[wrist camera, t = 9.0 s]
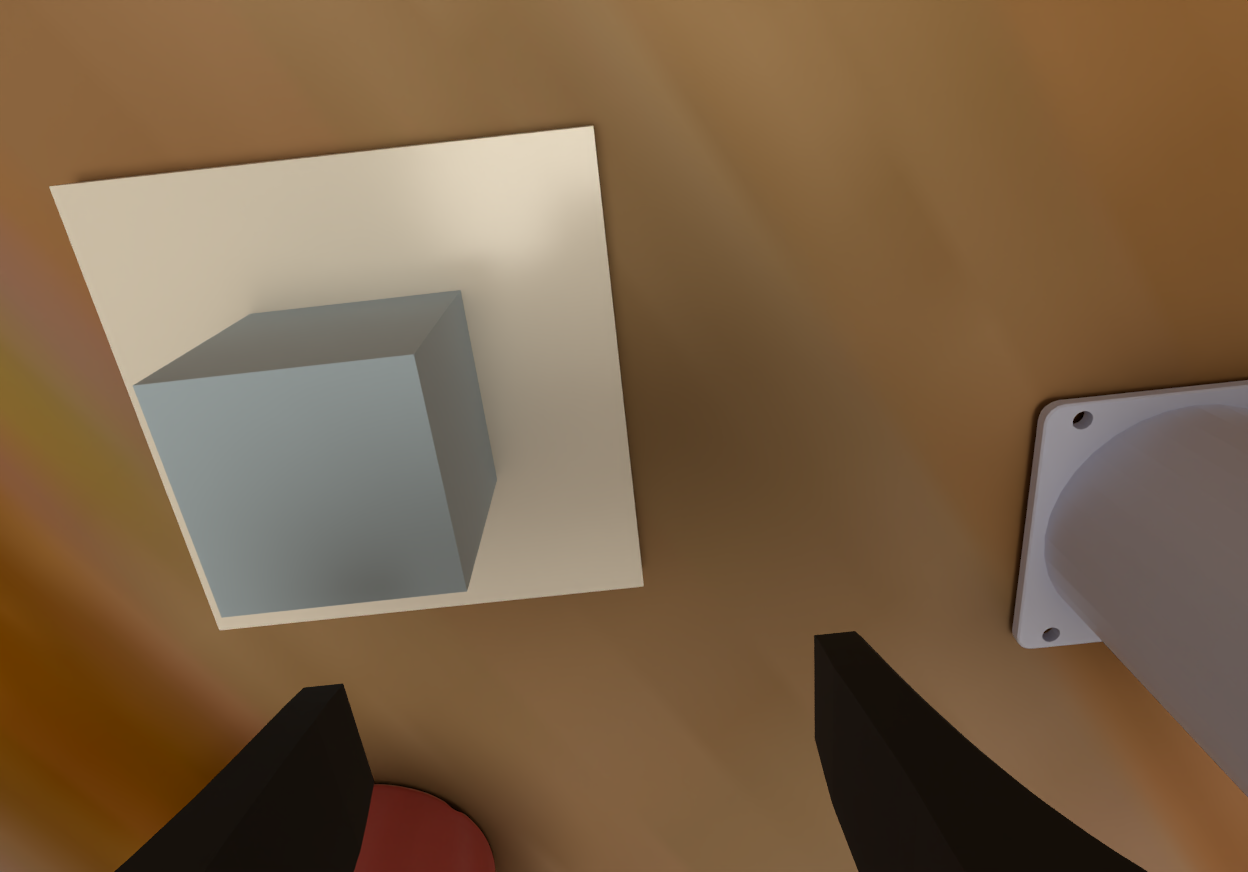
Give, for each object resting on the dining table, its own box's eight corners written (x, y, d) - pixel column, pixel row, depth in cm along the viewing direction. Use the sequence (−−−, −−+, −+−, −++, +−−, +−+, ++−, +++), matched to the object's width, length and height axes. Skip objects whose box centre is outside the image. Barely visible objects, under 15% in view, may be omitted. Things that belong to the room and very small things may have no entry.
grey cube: (460, 290, 18) (413, 354, 14) (497, 479, 20) (467, 591, 16) (250, 314, 18) (132, 385, 14) (307, 500, 20) (221, 617, 16)
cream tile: (593, 124, 18) (593, 125, 17) (641, 566, 22) (643, 586, 22) (77, 182, 18) (49, 186, 17) (234, 608, 23) (219, 630, 22)
